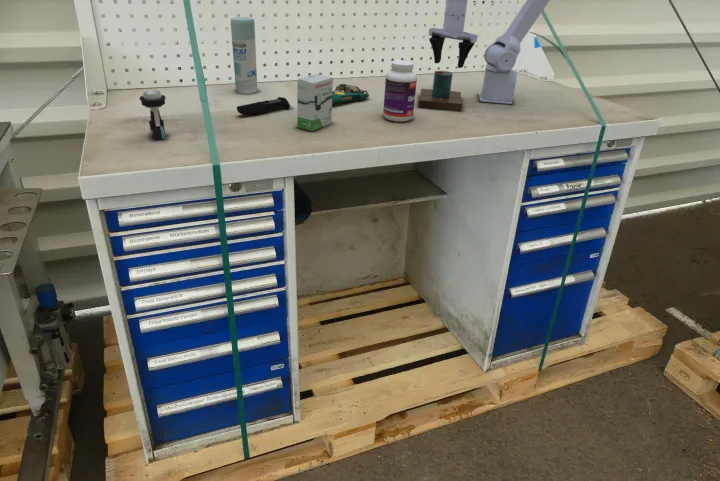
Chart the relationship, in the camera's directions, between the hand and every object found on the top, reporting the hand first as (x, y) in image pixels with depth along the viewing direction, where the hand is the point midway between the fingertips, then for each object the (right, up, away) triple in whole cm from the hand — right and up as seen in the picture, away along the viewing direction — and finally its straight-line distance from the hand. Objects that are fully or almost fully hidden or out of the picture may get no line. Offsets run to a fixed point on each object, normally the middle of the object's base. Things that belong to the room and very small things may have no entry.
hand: (448, 65), depth 153 cm
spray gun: (-32, -10, 0) cm, 33 cm away
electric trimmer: (-51, -17, -14) cm, 56 cm away
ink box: (-37, -22, -21) cm, 48 cm away
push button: (-72, -27, -33) cm, 84 cm away
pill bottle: (-16, -19, -13) cm, 28 cm away
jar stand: (-2, -11, +1) cm, 11 cm away
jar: (-2, -9, 0) cm, 9 cm away
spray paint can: (-59, -7, +3) cm, 60 cm away
